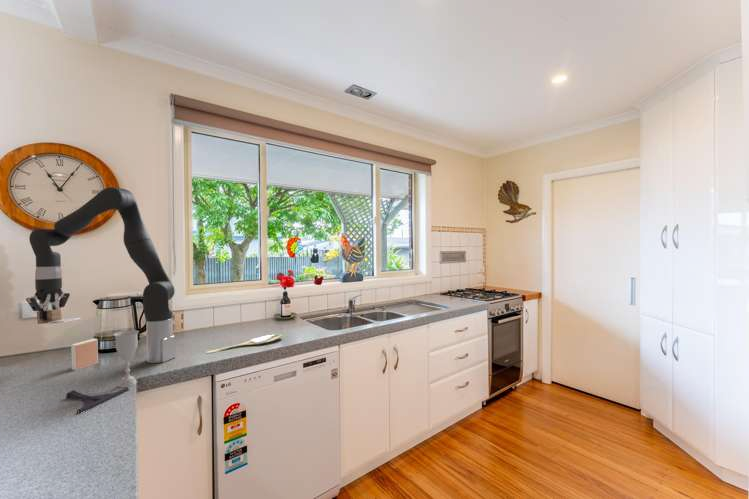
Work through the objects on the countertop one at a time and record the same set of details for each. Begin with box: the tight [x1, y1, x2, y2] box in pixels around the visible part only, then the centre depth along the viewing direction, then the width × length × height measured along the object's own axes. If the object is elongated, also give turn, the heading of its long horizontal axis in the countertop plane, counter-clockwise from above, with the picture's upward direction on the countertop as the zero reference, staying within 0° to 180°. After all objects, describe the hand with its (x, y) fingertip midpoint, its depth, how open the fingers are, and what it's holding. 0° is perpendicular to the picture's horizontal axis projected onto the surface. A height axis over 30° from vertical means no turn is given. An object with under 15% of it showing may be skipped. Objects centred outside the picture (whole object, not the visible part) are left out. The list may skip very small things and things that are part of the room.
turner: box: [36, 308, 82, 325], centre depth 126 cm, size 16×6×5 cm, turn 78°
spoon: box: [205, 333, 283, 354], centre depth 150 cm, size 35×11×2 cm, turn 126°
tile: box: [70, 338, 99, 371], centre depth 125 cm, size 2×8×10 cm, turn 167°
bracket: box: [65, 386, 130, 413], centre depth 98 cm, size 14×15×3 cm
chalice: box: [113, 329, 140, 388], centre depth 108 cm, size 7×7×18 cm
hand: (49, 319), depth 127 cm, fingers closed on turner, 3 cm apart
